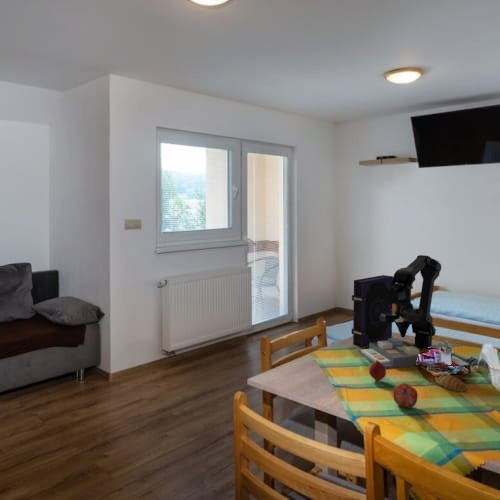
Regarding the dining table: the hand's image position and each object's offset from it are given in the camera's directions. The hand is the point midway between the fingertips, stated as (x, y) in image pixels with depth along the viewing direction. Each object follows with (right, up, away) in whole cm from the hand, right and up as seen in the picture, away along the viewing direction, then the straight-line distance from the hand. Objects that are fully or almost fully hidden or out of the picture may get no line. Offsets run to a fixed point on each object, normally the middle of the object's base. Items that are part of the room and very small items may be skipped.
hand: (402, 337), depth 194 cm
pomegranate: (-14, -14, -46) cm, 50 cm away
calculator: (+12, -11, -14) cm, 21 cm away
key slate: (-1, -5, +7) cm, 9 cm away
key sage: (0, -8, +1) cm, 8 cm away
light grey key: (-7, -6, +3) cm, 9 cm away
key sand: (+1, -6, -6) cm, 9 cm away
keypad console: (-6, -9, 0) cm, 11 cm away
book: (-6, -7, +25) cm, 27 cm away
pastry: (+7, -12, -30) cm, 33 cm away
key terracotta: (-5, -8, -4) cm, 10 cm away
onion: (-18, -12, -25) cm, 33 cm away
